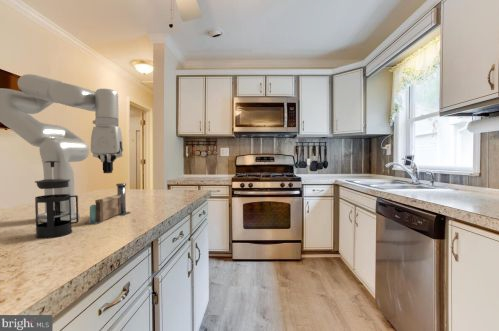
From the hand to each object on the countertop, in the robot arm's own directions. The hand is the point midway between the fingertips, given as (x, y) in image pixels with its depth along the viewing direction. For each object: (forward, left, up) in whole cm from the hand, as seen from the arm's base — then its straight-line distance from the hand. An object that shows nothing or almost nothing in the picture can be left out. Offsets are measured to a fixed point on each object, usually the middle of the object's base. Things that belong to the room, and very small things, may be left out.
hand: (107, 172), depth 100 cm
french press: (+2, -18, -18) cm, 26 cm away
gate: (-3, +2, -17) cm, 18 cm away
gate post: (-8, +10, -18) cm, 22 cm away
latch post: (-2, -4, -18) cm, 19 cm away
